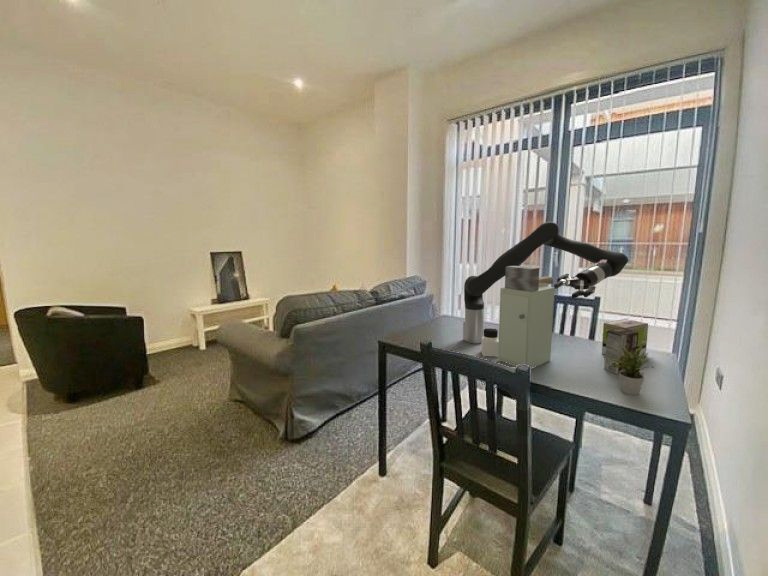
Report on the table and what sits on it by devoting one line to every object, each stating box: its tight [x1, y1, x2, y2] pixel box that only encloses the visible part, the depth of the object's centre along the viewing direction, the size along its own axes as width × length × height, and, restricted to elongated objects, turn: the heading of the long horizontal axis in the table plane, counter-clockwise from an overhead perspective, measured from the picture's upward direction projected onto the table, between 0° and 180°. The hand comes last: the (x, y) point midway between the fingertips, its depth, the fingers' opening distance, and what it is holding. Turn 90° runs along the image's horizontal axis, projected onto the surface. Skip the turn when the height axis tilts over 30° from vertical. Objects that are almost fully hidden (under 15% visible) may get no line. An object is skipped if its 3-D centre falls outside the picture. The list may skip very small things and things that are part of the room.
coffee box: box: [603, 328, 639, 375], centre depth 136 cm, size 9×6×16 cm
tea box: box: [601, 318, 649, 358], centre depth 153 cm, size 15×10×15 cm
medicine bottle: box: [480, 327, 499, 358], centre depth 157 cm, size 7×7×12 cm
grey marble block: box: [504, 265, 554, 292], centre depth 146 cm, size 12×24×9 cm, turn 126°
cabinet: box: [497, 285, 556, 369], centre depth 147 cm, size 14×19×32 cm
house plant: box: [609, 344, 656, 396], centre depth 120 cm, size 14×14×16 cm
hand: (563, 291), depth 144 cm, fingers open, 8 cm apart
